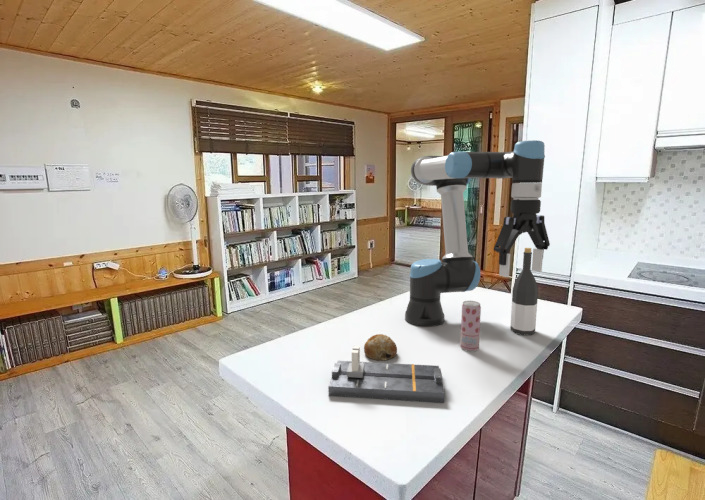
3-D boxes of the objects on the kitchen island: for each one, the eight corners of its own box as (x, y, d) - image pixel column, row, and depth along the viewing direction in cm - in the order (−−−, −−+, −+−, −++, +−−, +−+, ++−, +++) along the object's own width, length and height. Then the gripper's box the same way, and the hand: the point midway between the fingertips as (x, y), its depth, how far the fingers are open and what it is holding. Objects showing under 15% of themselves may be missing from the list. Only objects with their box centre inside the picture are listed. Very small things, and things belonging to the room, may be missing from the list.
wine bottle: (523, 337, 127) (529, 250, 123) (505, 329, 135) (510, 247, 130) (540, 333, 130) (546, 248, 126) (521, 325, 138) (526, 245, 133)
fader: (347, 376, 96) (346, 352, 95) (349, 367, 100) (349, 344, 99) (362, 377, 95) (362, 353, 94) (364, 368, 100) (364, 345, 99)
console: (328, 395, 92) (328, 380, 92) (338, 368, 106) (337, 355, 105) (444, 402, 88) (444, 387, 88) (438, 374, 102) (438, 360, 102)
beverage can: (459, 350, 117) (461, 304, 115) (461, 343, 122) (462, 299, 120) (478, 353, 115) (480, 306, 113) (479, 346, 120) (481, 301, 118)
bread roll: (371, 372, 111) (376, 354, 107) (356, 347, 119) (361, 329, 114) (398, 365, 116) (405, 347, 111) (382, 341, 123) (388, 323, 119)
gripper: (505, 200, 94) (500, 281, 98) (567, 198, 105) (560, 271, 109) (482, 199, 101) (478, 275, 104) (543, 197, 112) (538, 266, 115)
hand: (520, 273), depth 106 cm, fingers open, 13 cm apart
